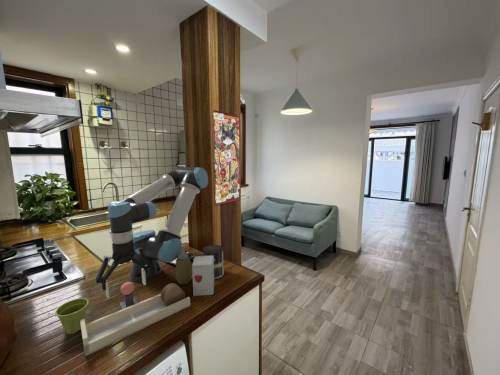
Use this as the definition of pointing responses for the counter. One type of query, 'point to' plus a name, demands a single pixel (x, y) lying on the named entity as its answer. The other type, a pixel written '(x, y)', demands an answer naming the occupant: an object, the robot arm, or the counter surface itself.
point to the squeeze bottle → (183, 268)
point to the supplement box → (203, 275)
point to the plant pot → (72, 314)
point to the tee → (128, 301)
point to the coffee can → (216, 259)
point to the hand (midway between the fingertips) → (126, 289)
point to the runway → (126, 322)
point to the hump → (172, 294)
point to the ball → (127, 288)
